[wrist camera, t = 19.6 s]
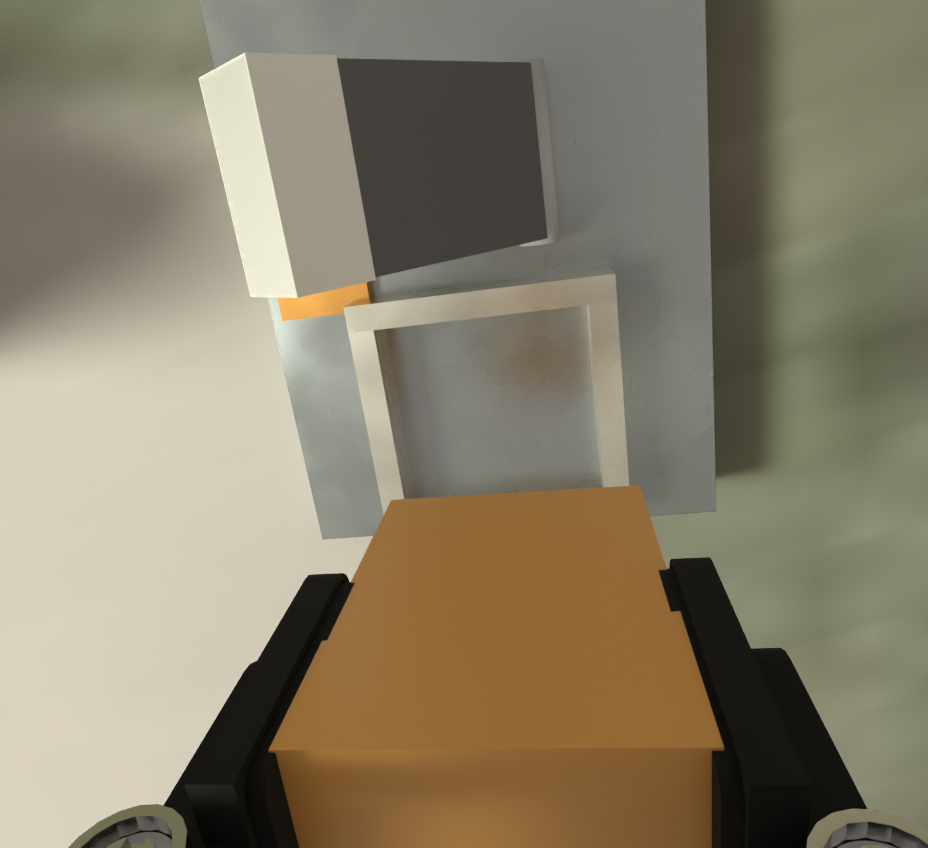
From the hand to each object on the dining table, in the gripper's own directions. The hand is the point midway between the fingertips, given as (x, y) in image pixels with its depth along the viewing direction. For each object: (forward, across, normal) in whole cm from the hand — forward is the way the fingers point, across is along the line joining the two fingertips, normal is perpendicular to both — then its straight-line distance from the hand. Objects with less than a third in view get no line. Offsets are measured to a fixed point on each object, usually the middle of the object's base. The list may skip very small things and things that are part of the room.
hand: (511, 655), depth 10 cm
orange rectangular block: (+3, 0, +1) cm, 3 cm away
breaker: (+12, -1, -7) cm, 14 cm away
